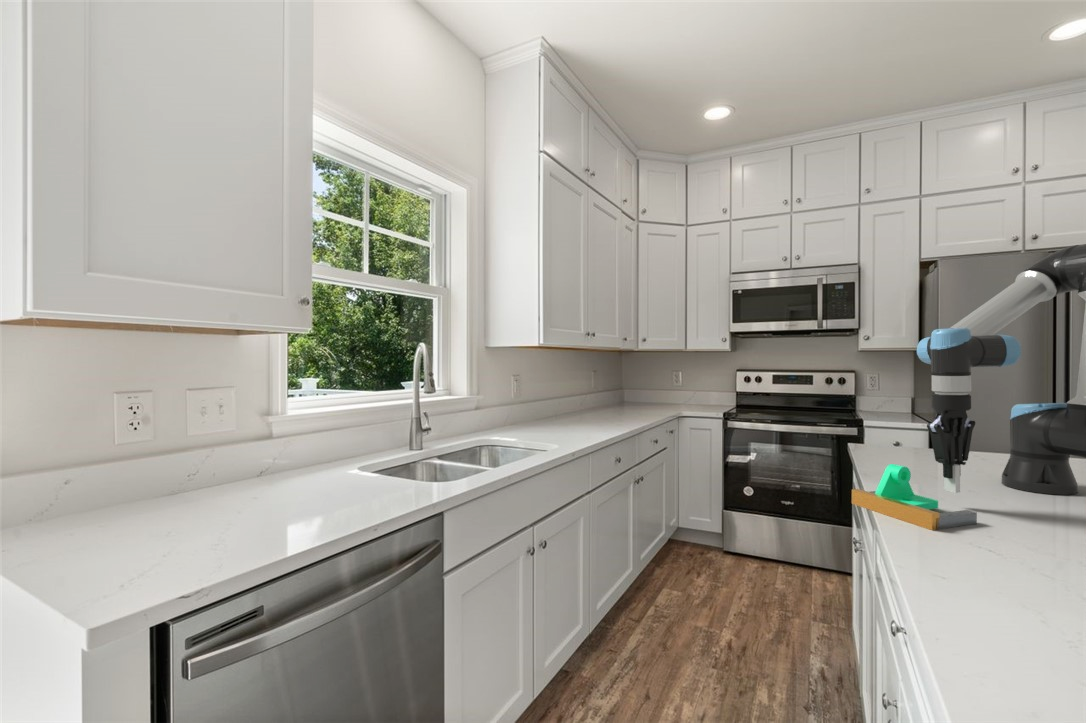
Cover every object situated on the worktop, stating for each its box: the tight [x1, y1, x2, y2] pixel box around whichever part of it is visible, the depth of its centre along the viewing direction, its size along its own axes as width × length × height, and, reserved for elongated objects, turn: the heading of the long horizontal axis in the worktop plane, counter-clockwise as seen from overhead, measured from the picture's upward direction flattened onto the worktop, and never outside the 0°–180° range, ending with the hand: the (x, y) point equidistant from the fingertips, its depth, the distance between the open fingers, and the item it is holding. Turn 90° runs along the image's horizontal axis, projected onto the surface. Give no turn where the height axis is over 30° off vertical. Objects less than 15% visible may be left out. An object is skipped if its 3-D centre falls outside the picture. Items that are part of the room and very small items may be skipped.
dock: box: [851, 488, 978, 531], centre depth 123 cm, size 13×20×4 cm, turn 17°
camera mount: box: [875, 463, 939, 510], centre depth 126 cm, size 12×8×10 cm, turn 110°
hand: (952, 491), depth 127 cm, fingers closed
